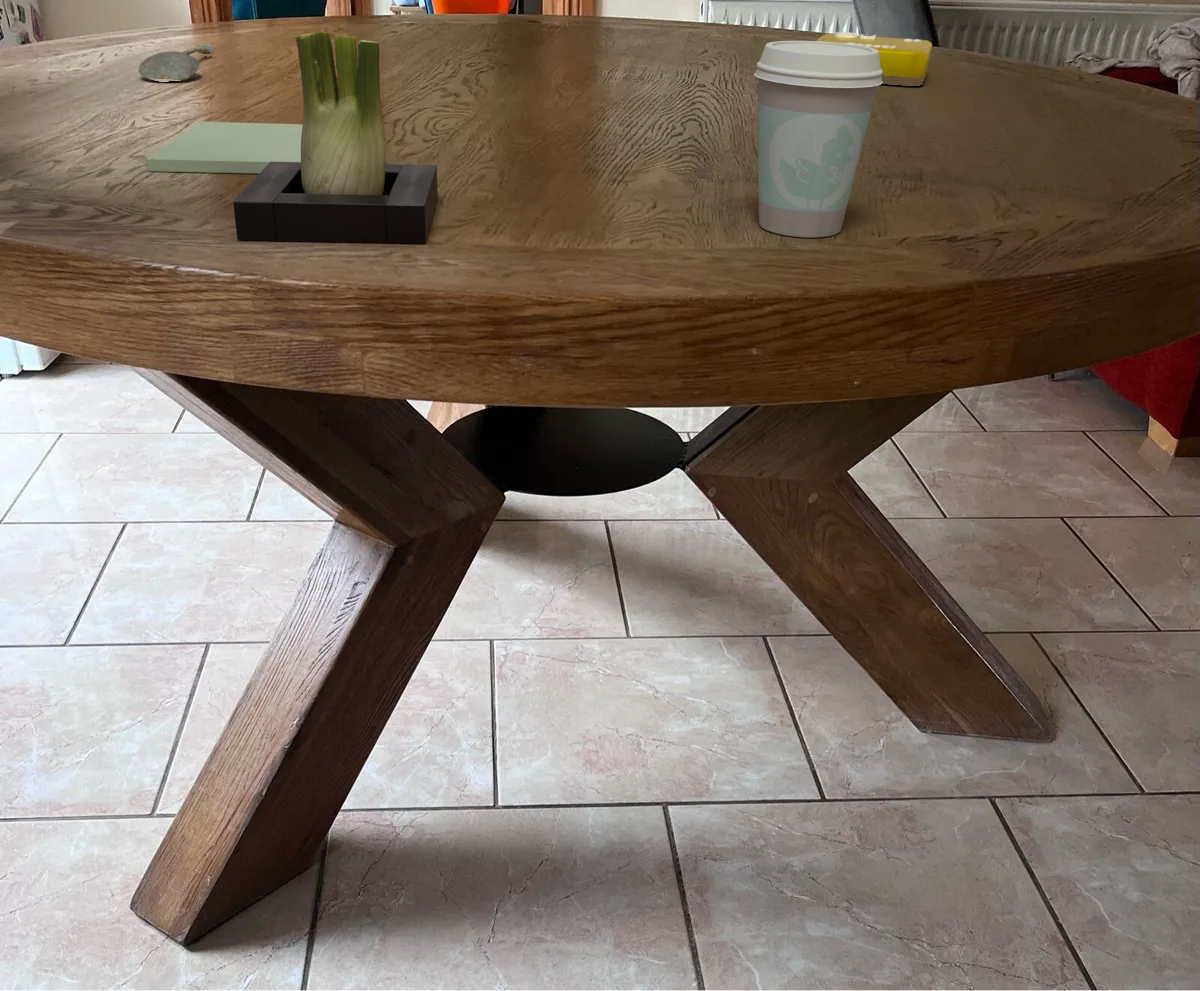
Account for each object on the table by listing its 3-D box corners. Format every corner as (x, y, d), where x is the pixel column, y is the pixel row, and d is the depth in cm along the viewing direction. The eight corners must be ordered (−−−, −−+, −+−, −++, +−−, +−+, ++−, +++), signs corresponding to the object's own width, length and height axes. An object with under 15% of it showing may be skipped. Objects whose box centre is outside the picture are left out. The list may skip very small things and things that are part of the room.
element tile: (805, 79, 147) (809, 40, 144) (819, 65, 159) (823, 29, 157) (922, 88, 143) (929, 48, 141) (927, 73, 156) (933, 36, 153)
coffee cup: (730, 235, 77) (747, 49, 71) (749, 207, 84) (766, 36, 79) (856, 249, 75) (884, 59, 70) (864, 219, 83) (890, 44, 77)
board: (147, 171, 88) (145, 158, 87) (199, 132, 102) (197, 121, 101) (354, 176, 89) (353, 163, 88) (377, 137, 103) (376, 126, 102)
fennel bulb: (398, 221, 77) (389, 35, 72) (337, 233, 74) (322, 38, 69) (352, 204, 81) (340, 25, 75) (291, 214, 78) (274, 29, 72)
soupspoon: (132, 88, 126) (192, 92, 126) (128, 56, 124) (189, 61, 125) (182, 55, 145) (234, 59, 145) (179, 27, 143) (232, 31, 144)
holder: (237, 240, 72) (232, 201, 71) (273, 195, 82) (269, 161, 81) (425, 244, 73) (424, 205, 72) (437, 199, 83) (436, 165, 82)
